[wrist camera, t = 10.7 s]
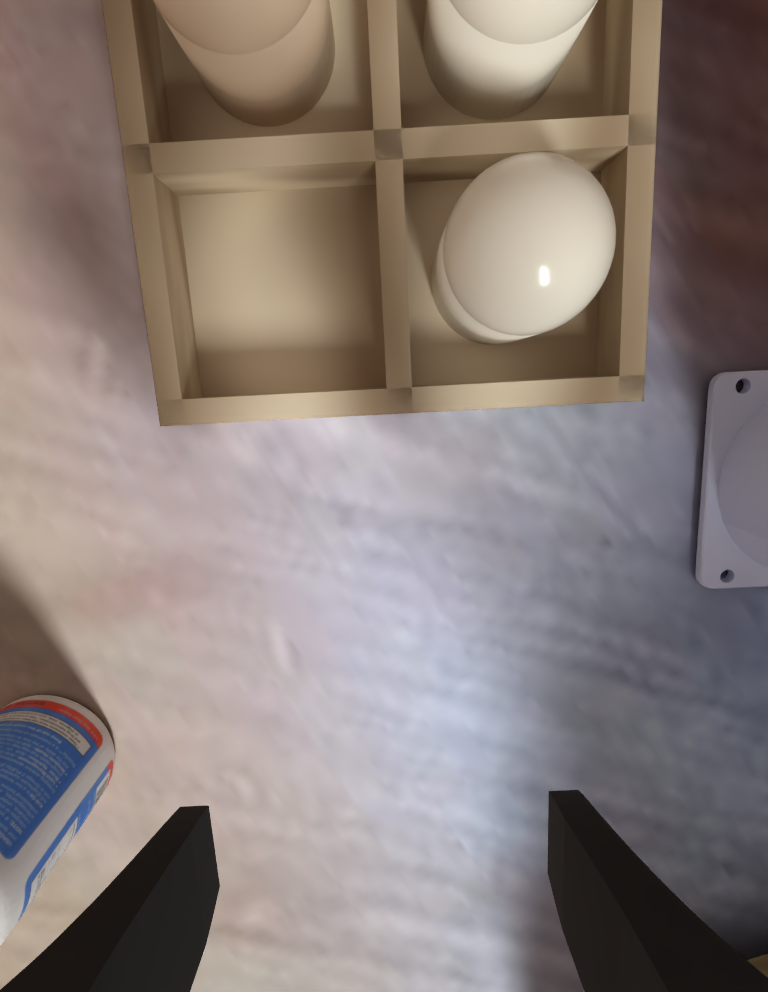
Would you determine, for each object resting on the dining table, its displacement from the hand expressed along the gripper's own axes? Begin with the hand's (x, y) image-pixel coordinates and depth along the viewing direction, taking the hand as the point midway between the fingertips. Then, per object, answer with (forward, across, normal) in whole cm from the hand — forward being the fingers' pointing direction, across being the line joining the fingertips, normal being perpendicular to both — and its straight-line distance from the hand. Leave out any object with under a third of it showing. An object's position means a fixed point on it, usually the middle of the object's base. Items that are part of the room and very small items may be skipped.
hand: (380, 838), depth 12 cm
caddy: (+10, -1, -16) cm, 19 cm away
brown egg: (+10, +3, -20) cm, 22 cm away
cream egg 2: (+10, -4, -12) cm, 17 cm away
